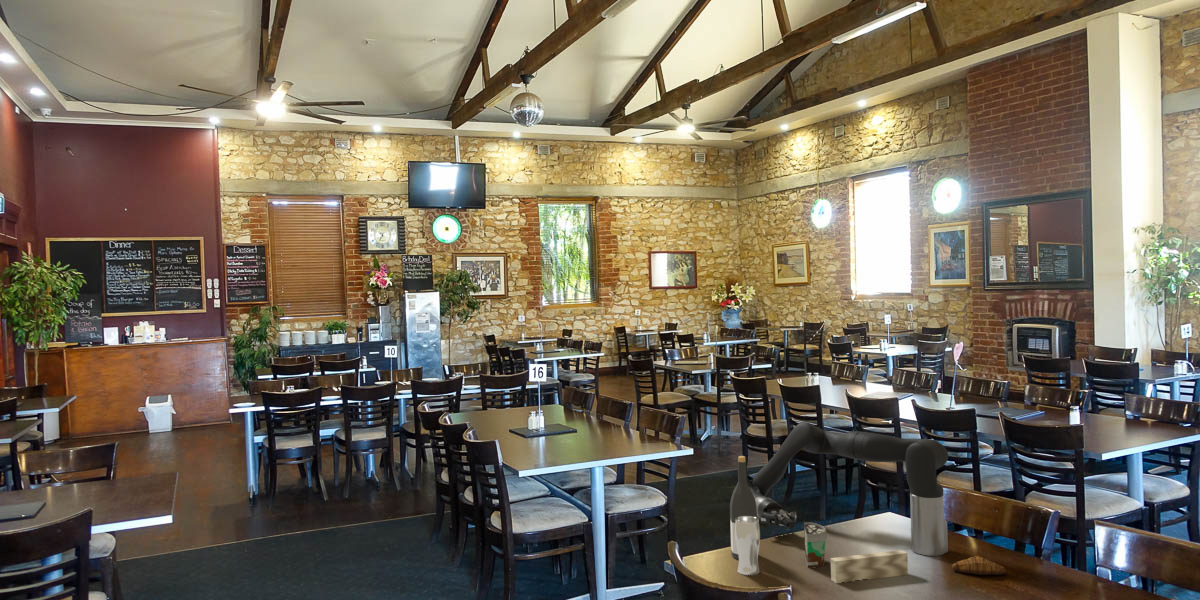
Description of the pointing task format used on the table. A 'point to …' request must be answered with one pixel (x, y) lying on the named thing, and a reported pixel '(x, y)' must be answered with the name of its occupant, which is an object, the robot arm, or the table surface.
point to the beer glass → (747, 544)
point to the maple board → (869, 566)
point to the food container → (814, 544)
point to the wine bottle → (741, 503)
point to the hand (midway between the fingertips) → (791, 525)
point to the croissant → (978, 566)
